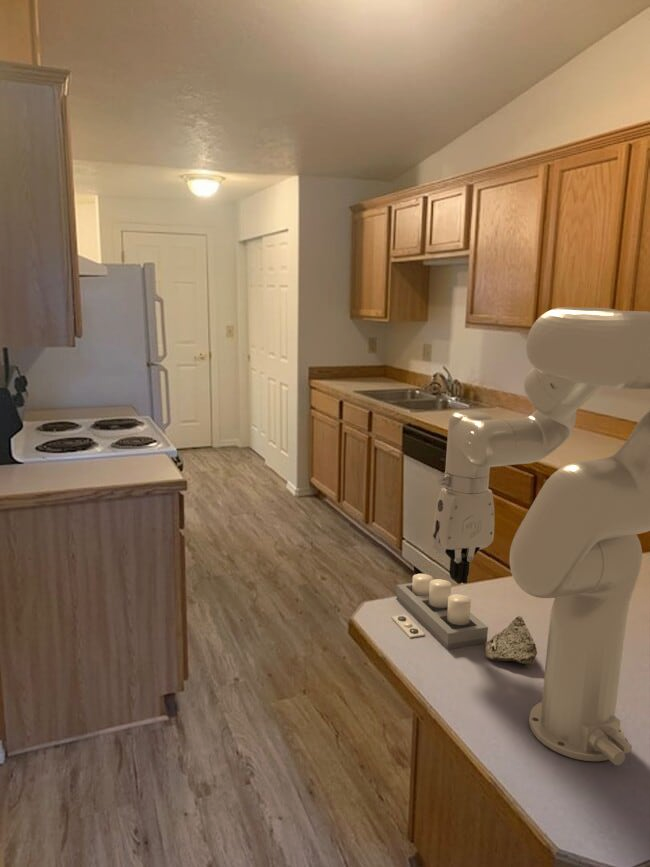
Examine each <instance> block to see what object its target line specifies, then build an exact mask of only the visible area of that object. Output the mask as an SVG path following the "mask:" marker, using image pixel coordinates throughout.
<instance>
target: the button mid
mask: <svg viewBox="0 0 650 867" xmlns="http://www.w3.org/2000/svg"><path fill="white" fill-rule="evenodd" d="M451 593H452V583H451V582H450V581H449V580H446V579H441V578H435V579H434V578H433V580H431V581H430V588H429V604H430V605H431V606H434V607H437V608H446V607H448V597H449V596H450V595H452V594H451Z"/></svg>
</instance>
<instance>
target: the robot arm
mask: <svg viewBox="0 0 650 867" xmlns="http://www.w3.org/2000/svg"><path fill="white" fill-rule="evenodd" d="M525 346H526V348H525V349H526V350H525V351H526V355H527V359H528V361H529V363H530V364H531V365H532V368H531V369H530V370H529V371H528V372H527V373H526V376H525V379H524V383H523V386H524V392H525V395H526V397H527V399H528V401H529V403H530V404H531V405H532V406H533V407H534V409H536V410H534V411H533V413H532V414H530V415H529V416H527V417H514V418H513V417H511V418H499V419H498V418H497V419H494V418H493V417H492V416H491V415H490V414H489V413H487V412H483V411H479V410H475V411H474V410H458V411H455V412H453V413H452V414H451V415H450V417H449V419H448V426H447V427H448V429H447V440H446V453H445V454H446V457H445V471H444V474H443V476H442V477H439V478H438V482H437V483H438V485H439V486H443V487H442V488H441V487H440V491H439V495H438V497H437V501H436V506H435V512H434V517H433V524H432V538H433V540H434V542H433V546H432V550H433V551H434V552H436V553H437V554H443V555H447V557H448V558H449V559H450V562H449V573H448V574H449V577H450V579H452V580H453V581H454V582H456V583H457V585H461V584H467V582H468V577H469V573H470V572H469V571H470V562H473V560H474V556H475V555H476V554H477V553H478V552H479V551H481V550H485V549H487V548H488V547H490V545H491V544H492V543H493V541H494V536H495V503H494V495H493V490H491V489H489V482H490V471H491V468H494V467H504V466H512V465H513V466H514V465H525V464H533V463H536V462H539V461H542V460H544V459H545V458H547V457H548V456H550V455H551V454H552V453H553V452H555V451H556V450H557V449H558V448H560V447H561V446H562V445H563V444H565V443H566V442H567V441H568V439H569V438H570V437H571V435H572V433H573V431H574V428H575V424H576V420H577V411H578V410H579V409H580V408H581V407H582V406H584V405H585V404H586V403H587V402H588V401H589V400H590V399H591V398H593V397H594V396H595V395H596V394H597V393H598V392H600V391H601V390H602V389H603V388H607V389H613V390H623V391H650V311H645V310H641V311H639V310H618V309H613V308H608V307H580V306H578V307H577V306H576V307H574V306H560V307H555V308H552V309H550V310H549V309H548V311H546V312H544V313H543V314H541V315H540V316H539V317H538V318H537V319H536V320H535V322H534V323H533V324H532V326H531V327H530V330H529V331H528V335H527V338H526V344H525ZM540 488H541V489H540V490H539V492H538V494H537V495H536V497H535V499H534V500H533V502H532V504H531V506H530V508H529V509H528V511H527V513H526V515H525V516H524V518H523V519H522V521H521V523H520V525H519V527H518V528H517V530H516V532H515V534H514V537H513V539H512V542H511V544H510V550H509V567H510V573H511V575H512V578H513V579H514V582H515V583H516V584H517V585H518V587H519V589H521V590H522V591H523V592H525V593H526V594H528V595H529V596H532V597H534V598H535V597H536V598H538V599H553V602H552V605H551V610H550V615H549V616H550V617H549V626H548V635H547V646H546V647H547V648H546V656H545V657H546V658H545V666H544V668H545V669H544V678H543V689H542V700H541V701H540V702H538V703H537V704H535V705H533V706H532V708H531V709H530V711H529V715H528V716H529V717H528V725H529V728H530V730H531V732H532V734H533V736H534V737H535V738H536V739H537V740H538V741H539V742H541V743H542V744H543V746H545V747H547V748H549V749H550V750H552V751H554V752H556V753H558V754H560V755H562V756H565V757H568V758H570V759H575V760H578V761H586V762H602V761H608V760H609V761H610V762H611V763H612V764H614V765H615V766H620V765H621V764H623V763H624V761H625V759H626V754H629V753H630V752H631V751H632V748H633V746H632V744H631V743H630V742H628V740H626V736H625V732H624V730H623V728H622V726H621V720H620V718H618V717H617V716H616V709H617V701H618V700H617V699H618V692H619V684H620V676H621V668H622V666H621V665H622V660H623V649H624V642H625V641H624V640H625V636H626V628H627V622H628V613H629V609H630V604H631V600H632V596H633V593H634V590H635V588H636V586H637V582H638V579H639V576H640V573H641V569H642V564H643V550H642V544H641V541H640V539H639V536H638V535H639V534H643V533H645V534H646V533H647V532H650V410H649V411H647V412H646V414H644V415H643V417H641V418H640V420H639V421H638V422H637V423H636V424H635V426H634V428H633V429H632V431H631V433H630V435H629V436H628V438H627V439H626V440H625V442H624V443H623V445H622V446H621V447H620V448H619V450H618V451H616V452H615V453H614V454H612V455H610V456H608V457H605V458H598V459H589V460H580V461H575V462H571V463H568V464H566V465H563V466H562V467H560V468H559V469H557V470H556V471H555V472H554V473H552V474H551V475H550V476H549V478H547V480H546V481H545V482H544V484H543V485H542V487H540Z"/></svg>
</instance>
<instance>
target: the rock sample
mask: <svg viewBox="0 0 650 867" xmlns="http://www.w3.org/2000/svg"><path fill="white" fill-rule="evenodd" d="M526 623H527V621H526V622H525V620H524V618H523V616H521V615H517V616H516V617H515V618H514V619H513V620H512V621H511V623H509V625H508V626H506V627H505V628H503V630H502V631H500V632H499V633H496V634H495V635H494V636H492V637H491V639H490V640H488V641H487V642H486V643H484V644H485V653H484V654H485V656H486V657H487V658H488V659H489V660H493V661H496V662H517V663H519V664H522V665H525V666H529V665H530V666H531V665H534V661H535V658H536V656H537V655H538V650H537V649H538V648H537V647H536V646H537V645H536V643H535V641H534V639H533V637H532V634H531V633H530V630H529V628H528V627H527V624H526Z"/></svg>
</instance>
